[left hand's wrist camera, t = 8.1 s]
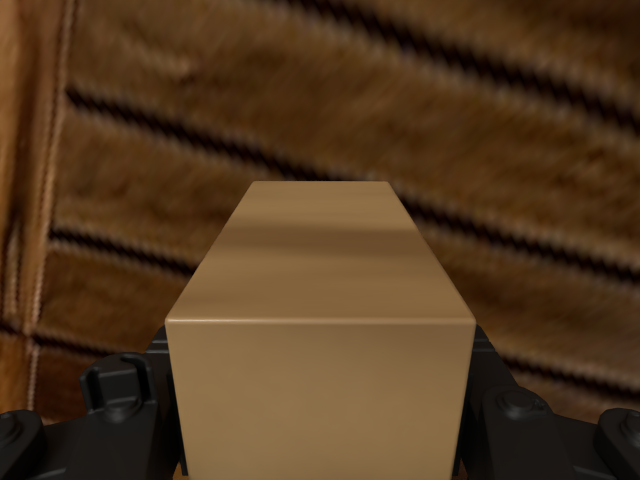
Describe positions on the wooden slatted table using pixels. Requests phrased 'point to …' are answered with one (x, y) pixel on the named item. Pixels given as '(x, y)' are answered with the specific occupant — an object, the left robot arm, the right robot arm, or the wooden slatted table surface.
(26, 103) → the wooden slatted table surface
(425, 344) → the bar
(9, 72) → the wooden slatted table surface
